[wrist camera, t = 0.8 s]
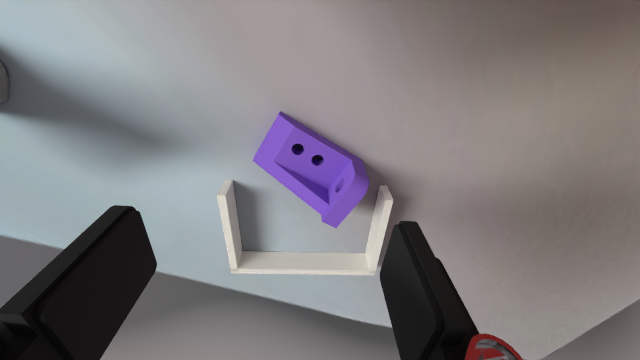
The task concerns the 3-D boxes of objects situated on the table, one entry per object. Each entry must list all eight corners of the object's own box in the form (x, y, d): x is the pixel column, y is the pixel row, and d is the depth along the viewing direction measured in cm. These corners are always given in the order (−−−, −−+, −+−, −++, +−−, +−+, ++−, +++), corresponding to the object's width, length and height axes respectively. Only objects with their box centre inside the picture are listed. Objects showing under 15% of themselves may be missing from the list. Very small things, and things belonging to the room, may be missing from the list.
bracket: (361, 158, 34) (371, 187, 29) (332, 195, 37) (336, 228, 32) (280, 110, 31) (273, 132, 25) (255, 155, 34) (243, 183, 28)
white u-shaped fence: (225, 179, 35) (217, 195, 32) (386, 185, 36) (393, 200, 33) (237, 255, 43) (231, 273, 40) (370, 257, 44) (374, 275, 41)
